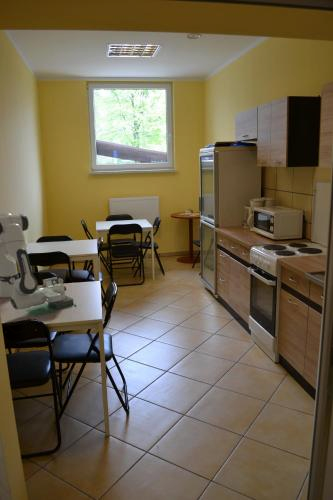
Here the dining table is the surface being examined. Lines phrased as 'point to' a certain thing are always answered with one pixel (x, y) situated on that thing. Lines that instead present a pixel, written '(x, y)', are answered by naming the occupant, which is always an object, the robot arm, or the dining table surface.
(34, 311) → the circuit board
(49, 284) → the grey mechanical device
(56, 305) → the grey square tray
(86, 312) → the dining table surface
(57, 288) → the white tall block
